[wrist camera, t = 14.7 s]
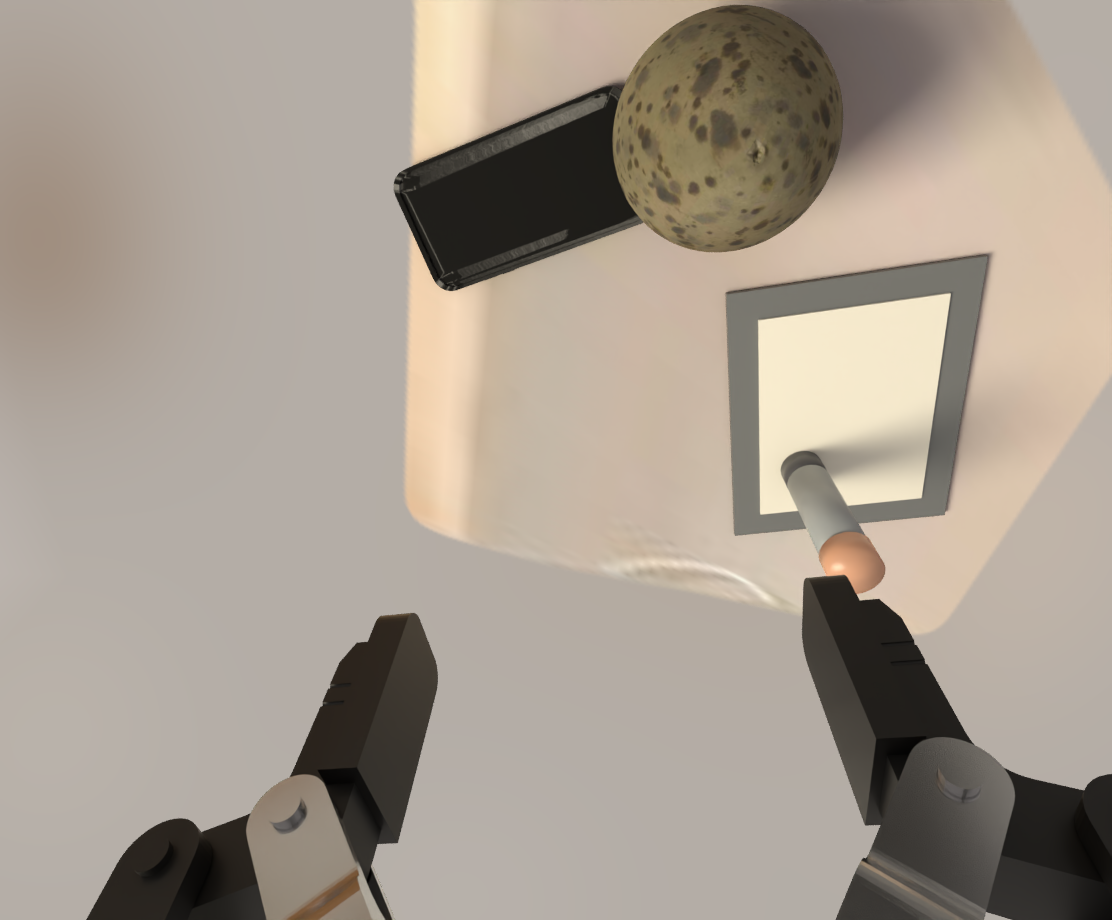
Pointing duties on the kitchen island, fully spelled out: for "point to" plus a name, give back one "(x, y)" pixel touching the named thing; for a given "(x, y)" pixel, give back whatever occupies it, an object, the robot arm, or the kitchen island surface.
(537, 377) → the kitchen island surface
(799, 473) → the marker
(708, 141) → the decorative egg
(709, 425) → the kitchen island surface
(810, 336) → the writing mat
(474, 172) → the phone
